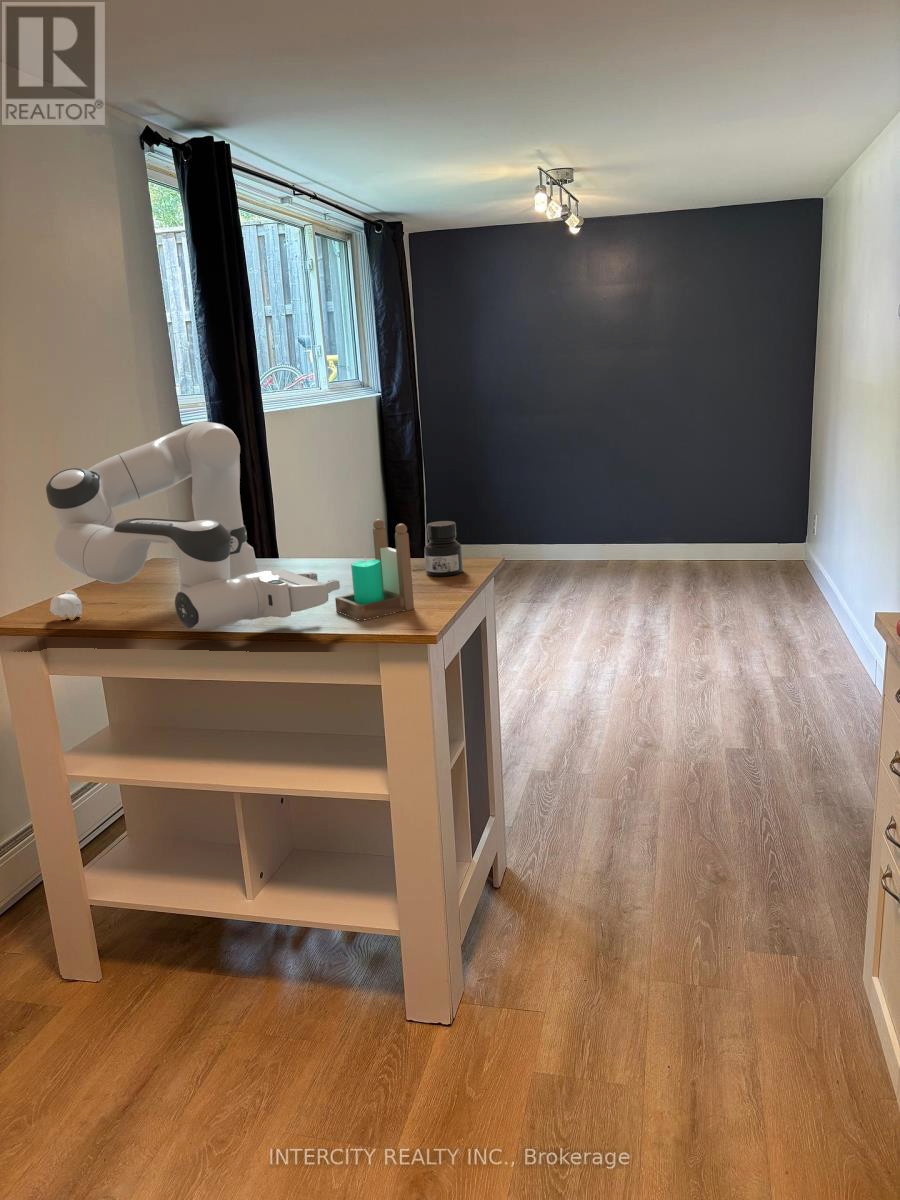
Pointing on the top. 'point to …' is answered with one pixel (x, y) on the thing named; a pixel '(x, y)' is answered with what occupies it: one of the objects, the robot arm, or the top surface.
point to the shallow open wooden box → (370, 606)
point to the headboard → (394, 561)
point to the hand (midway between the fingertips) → (326, 580)
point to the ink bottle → (442, 550)
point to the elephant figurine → (66, 604)
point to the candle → (367, 581)
